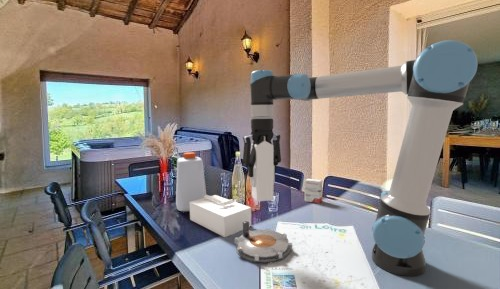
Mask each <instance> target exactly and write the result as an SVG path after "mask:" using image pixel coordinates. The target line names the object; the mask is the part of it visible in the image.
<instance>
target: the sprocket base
mask: <svg viewBox="0 0 500 289" xmlns="http://www.w3.org/2000/svg"><path fill="white" fill-rule="evenodd" d="M235 248H236V249H235V250H236V252H237V248H238V243H236V246H235ZM290 251H291V249H288V250H287V252H286V253H285V254H283V255H282V258H280V259H278V258H277V257H276V258H271V259H259V261H256V260H255V258H251V257H248V256H246V255H244V254H242V253H241V254H238V253H237V255H238V256H239V257H240V258H241V259H243V260H246V261H249V262H252V263H256V264H270V262H272V263H276V262H280V261H282V260H283V259H285V258H287V257H288V255H289V254H290ZM279 260H280V261H279ZM275 261H276V262H275Z"/></svg>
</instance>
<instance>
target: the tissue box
mask: <svg viewBox="0 0 500 289" xmlns="http://www.w3.org/2000/svg"><path fill="white" fill-rule="evenodd" d="M189 203H190V211H189V220H190V221H192V222H194V223H196V224H198V225H200V226H202V227H204V228H206V229H207V230H210V231H211V232H214V233H215V234H217V235H219V236H221V237H223V238H227V237H229V236H231V235H235V234H236V233H239V232H241V231H243V222H244V221H248V222H249V228H250V226H251V227H252V207H250V206H249V205H245V204H242V203H239V202H237V201H235V200H234V199H232V198H231V199H228V198H226V197H222V196H220V195H218V194H214V195H208V194H206V195H205V196H204V198H202V199H199V200H195V201H191V202H189Z"/></svg>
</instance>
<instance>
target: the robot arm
mask: <svg viewBox="0 0 500 289" xmlns="http://www.w3.org/2000/svg"><path fill="white" fill-rule="evenodd" d="M478 64H479V62H478V57H477V54H476V51H475V50H474V49H473V48H472V47H471V46H470V45H469V44H467V43H465V42H462V41H460V40H456V39H455V40H454V39H453V40H452V39H446V40H441V41H438V42H435V43H433V44H431V45H428V46H427V47H426V48H425V49H423V50H422V51H421V52H420V53H419V55H418V56H417V57H416V59H413V60H407V61H404V62H403V64H401V65H398V66H397V65H396V66H389V67H382V68H381V67H380V68H373V69H367V70H359V71H349V72H344V73H335V74H334V73H333V74H329V75H327V74H326V75H321V76H313V77H309V75H308V74H305V73H294V74H285V75H284V74H283V75H274V72H273V70H270V69H257V70H253V71H252V72H251V74H250V84H249V85H250V116H251V117H252V118H251V120H250V129H251V133H250V134H249V135H246V136H243V137H242V138H243V139H242V140H243V155H242V166H245V167H246V168H247V176H248V177H249V183H250V187H252V186H253V187H256V168H255V167H254V164H255V161H256V149H255V147H254V144H257V145H258V144H260V143H261V142H262V141H263V138H264V137H263V136H265V141H267V142H268V143H270V144H272V145H273V185H274V184H275V183H276V181H275V179H276V178H275V174H276V173H277V166H278V165H279V164H280V163H281V162H282V156H281V147H280V146H281V144H280V141H281V135H280V134H276V133H275V134H274V131H273V129H274V119H273V117H274V101H275V100H295V101H296V100H297V101H305V102H306V101H307V102H308V101H311V100H319V99H321V100H322V99H332V98H342V97H353V96H363V95H364V96H367V95H375V94H377V95H378V94H387V93H388V94H389V93H399V92H401V93H403V94H404V95H407V97H406V98H407V100H408V101H409V102H410V104H411V108H410V112H409V115H408V120H407V123H406V127H405V132H404V135H403V138H402V142H401V145H400V150H399V155H398V156H397V157H398V158H397V161H396V166H395V169H394V174H393V175H392V180H391V185H390V188H389V190H383V191H382V192H381V193H380V198H379V200H380V201H379V202H380V203H379V206H378V210H377V213H376V218H375V222H374V223H373V225H372V228H371V231H372V237H373V240H374V245H373V248H372V250H371V260H372V262H373V263H374V264H375V265H376V266H377V267H379V268H380V269H382V270H384V271H386V272H389V273H392V274H396V275H399V276H405V277H417V276H420V275H422V274H424V273H425V272H426V267H427V263H426V262H427V261H426V258H425V254H424V252H423V248H424V246H425V243H426V241H425V234H426V229H427V225H428V223H429V218H430V215H431V212H432V211H431V209H430V208H429V206H428V205H427V200H428V197H429V193H430V190H431V187H432V183H433V180H434V176H435V172H436V170H437V166H438V163H439V159H440V156H441V152H442V149H443V146H444V143H445V139H446V136H447V132H448V129H449V125H450V122H451V118H452V114H453V111H455V110H456V109H457V108H460V107H461V106H463V105H464V102H465V99H466V96H467V92H468V89H469V86H470V84H471V83H470V82H471V81H472V80H473V78H474V77H475V76H476V73H477V71H478ZM251 144H253V145H252V151H251Z"/></svg>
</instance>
